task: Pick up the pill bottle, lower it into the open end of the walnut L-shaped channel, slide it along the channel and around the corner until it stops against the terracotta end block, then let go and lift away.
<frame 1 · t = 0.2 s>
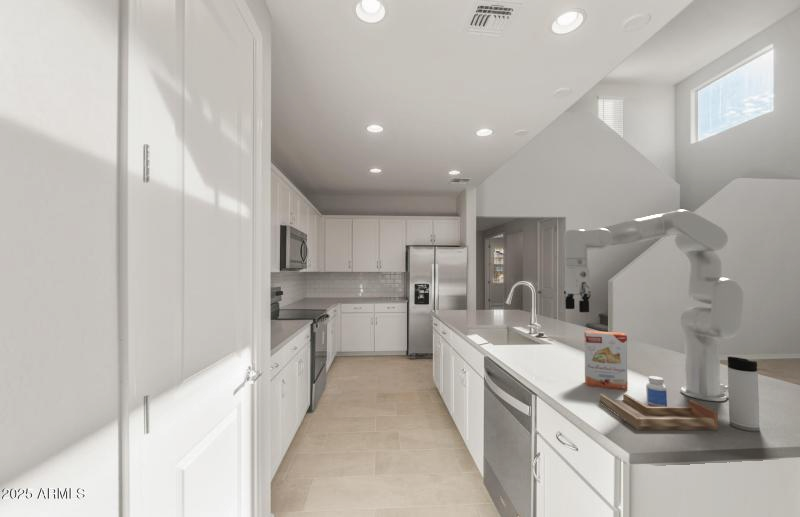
hand: (576, 310, 128), 31 cm above the counter, tool pointing down, fingers open, 9 cm apart
pill bottle: (656, 408, 116), on the counter
travel mug: (743, 427, 102), on the counter
channel track: (650, 415, 110), on the counter
cracker box: (605, 386, 137), on the counter
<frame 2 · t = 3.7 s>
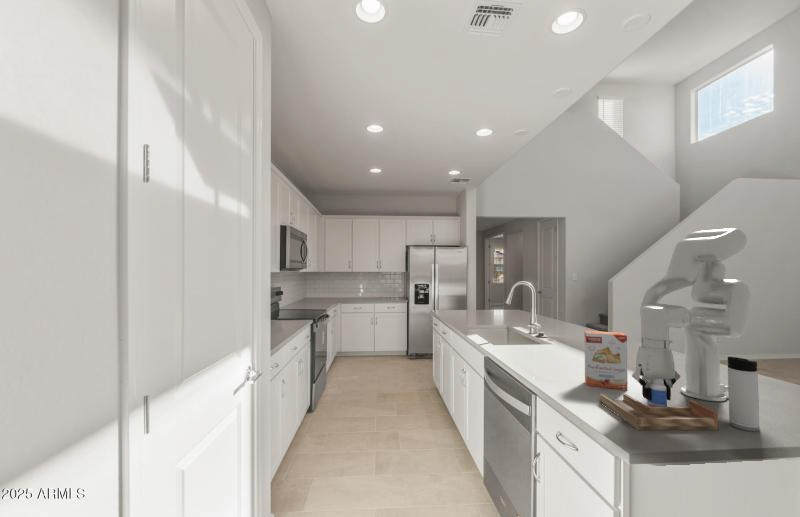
hand: (656, 398, 116), 3 cm above the counter, tool pointing down, fingers closed on pill bottle, 5 cm apart
pill bottle: (656, 408, 116), on the counter, touching gripper
everything else where it was.
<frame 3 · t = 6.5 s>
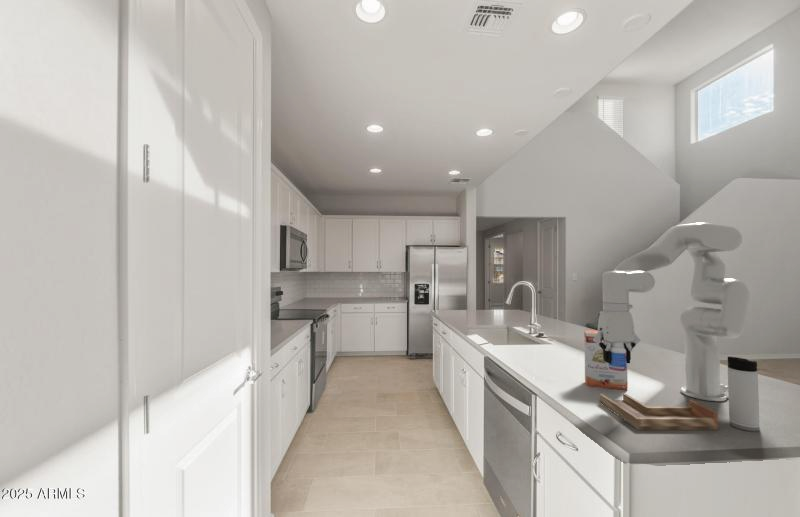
hand: (616, 361, 118), 15 cm above the counter, tool pointing down, fingers closed on pill bottle, 5 cm apart
pill bottle: (617, 371, 118), point 12 cm above the counter, touching gripper
everything else where it was.
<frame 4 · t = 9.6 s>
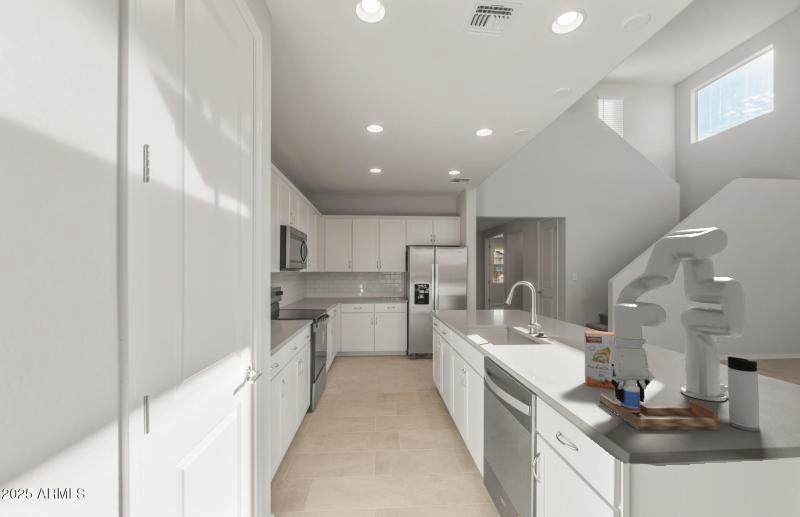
hand: (629, 400, 112), 4 cm above the counter, tool pointing down, fingers closed on pill bottle, 5 cm apart
pill bottle: (630, 410, 111), point 1 cm above the counter, touching gripper
everything else where it was.
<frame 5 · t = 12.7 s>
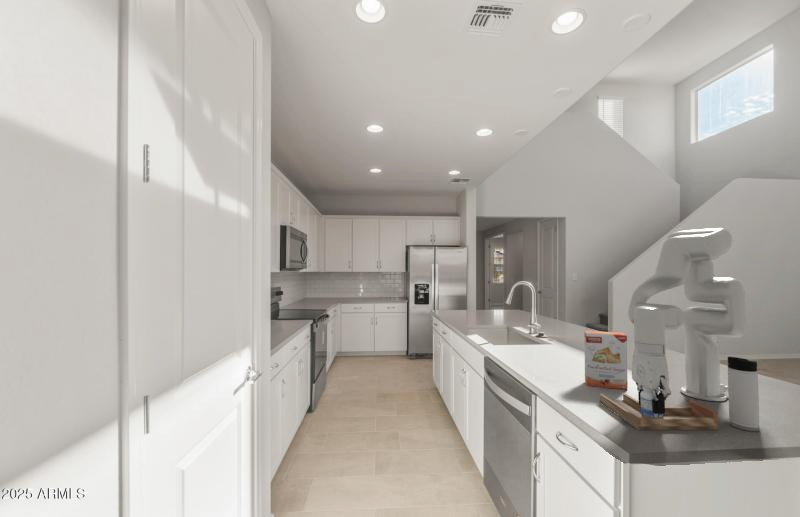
hand: (651, 408, 105), 4 cm above the counter, tool pointing down, fingers closed on pill bottle, 5 cm apart
pill bottle: (651, 419, 105), point 1 cm above the counter, touching gripper
everything else where it was.
when the fingers open (4 cm above the counter, at t = 15.6 s): pill bottle stays where it is, resting on channel track.
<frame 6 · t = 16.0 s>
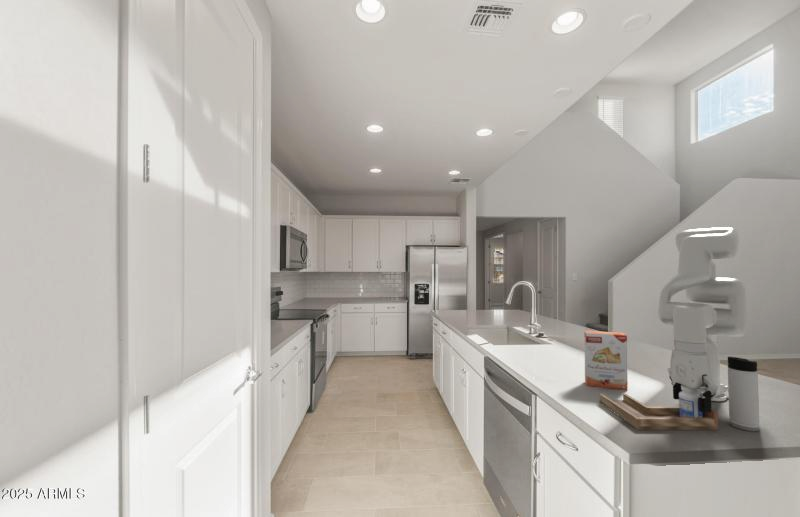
hand: (691, 405, 105), 5 cm above the counter, tool pointing down, fingers open, 9 cm apart
pill bottle: (691, 419, 105), point 1 cm above the counter, touching channel track
everything else where it was.
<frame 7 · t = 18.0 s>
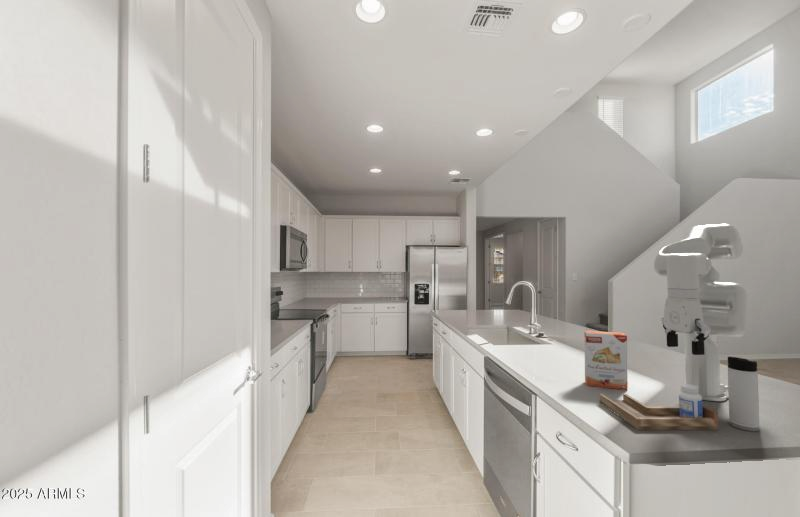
hand: (684, 350, 108), 21 cm above the counter, tool pointing down, fingers open, 9 cm apart
nothing on the counter moved.
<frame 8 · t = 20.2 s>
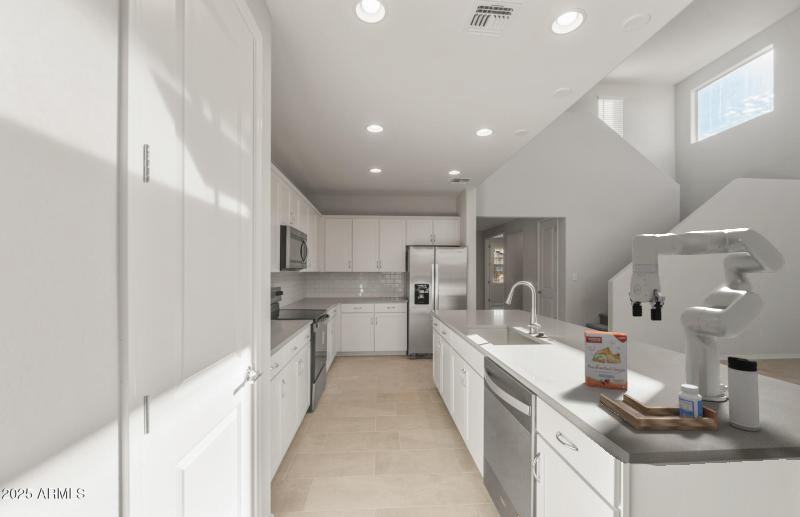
hand: (646, 318, 124), 28 cm above the counter, tool pointing down, fingers open, 9 cm apart
nothing on the counter moved.
at the end: pill bottle 0.3 cm from the target spot, point 0.8 cm above the counter; pill bottle tilted 0°; the gripper is holding nothing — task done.
